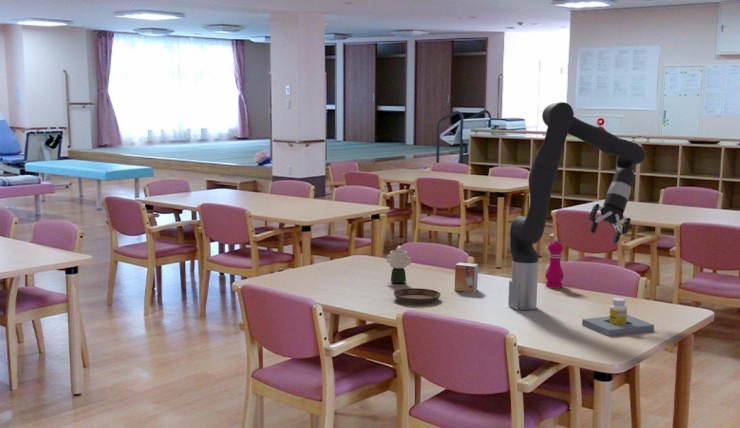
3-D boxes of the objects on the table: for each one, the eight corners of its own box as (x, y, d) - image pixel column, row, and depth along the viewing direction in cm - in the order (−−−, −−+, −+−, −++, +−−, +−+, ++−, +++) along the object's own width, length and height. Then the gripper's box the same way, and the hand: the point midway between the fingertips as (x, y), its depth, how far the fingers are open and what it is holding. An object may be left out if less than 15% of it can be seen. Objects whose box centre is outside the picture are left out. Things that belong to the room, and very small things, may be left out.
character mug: (414, 282, 336) (414, 251, 334) (405, 286, 330) (406, 254, 328) (391, 279, 342) (391, 248, 340) (382, 282, 336) (382, 251, 334)
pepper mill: (563, 288, 328) (565, 239, 325) (545, 287, 329) (546, 238, 326) (562, 285, 335) (565, 236, 332) (544, 284, 336) (546, 235, 333)
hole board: (608, 336, 262) (609, 330, 262) (582, 324, 275) (582, 319, 275) (653, 330, 269) (654, 324, 269) (625, 320, 282) (626, 314, 281)
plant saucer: (409, 293, 320) (410, 285, 319) (449, 299, 309) (449, 291, 309) (384, 301, 305) (384, 293, 305) (424, 309, 295) (424, 300, 295)
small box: (454, 290, 323) (454, 264, 321) (458, 287, 328) (458, 262, 326) (473, 292, 320) (474, 266, 318) (477, 289, 325) (478, 263, 323)
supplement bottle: (606, 325, 275) (608, 297, 273) (622, 325, 275) (623, 296, 274) (612, 330, 269) (614, 301, 268) (628, 330, 270) (630, 301, 268)
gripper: (604, 186, 289) (589, 228, 286) (640, 202, 290) (626, 244, 287) (595, 191, 297) (581, 231, 293) (630, 206, 298) (616, 247, 294)
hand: (603, 238), depth 290 cm, fingers open, 8 cm apart
